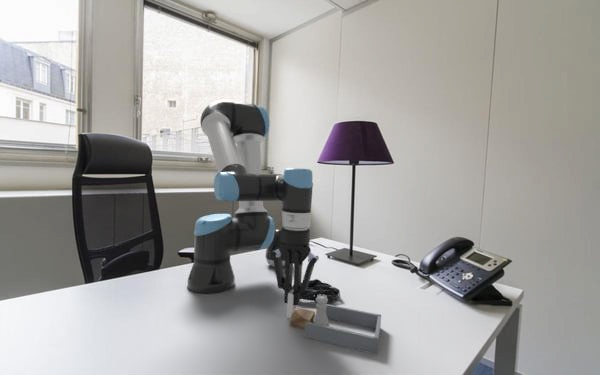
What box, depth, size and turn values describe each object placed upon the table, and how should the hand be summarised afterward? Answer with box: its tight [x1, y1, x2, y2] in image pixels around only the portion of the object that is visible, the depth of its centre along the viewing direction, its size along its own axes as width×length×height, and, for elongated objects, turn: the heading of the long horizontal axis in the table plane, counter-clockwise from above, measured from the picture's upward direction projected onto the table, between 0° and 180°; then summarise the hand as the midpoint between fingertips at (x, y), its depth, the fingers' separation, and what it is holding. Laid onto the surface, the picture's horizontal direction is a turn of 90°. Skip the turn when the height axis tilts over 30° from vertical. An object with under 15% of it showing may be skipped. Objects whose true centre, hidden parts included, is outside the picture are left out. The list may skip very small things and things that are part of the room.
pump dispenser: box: [265, 228, 285, 268], centre depth 121 cm, size 10×10×15 cm
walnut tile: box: [289, 307, 316, 330], centre depth 77 cm, size 5×5×2 cm
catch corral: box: [304, 303, 382, 355], centre depth 73 cm, size 17×12×4 cm
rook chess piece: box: [312, 294, 330, 327], centre depth 75 cm, size 4×4×8 cm
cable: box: [291, 278, 341, 304], centre depth 95 cm, size 17×14×4 cm
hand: (291, 315), depth 78 cm, fingers closed
